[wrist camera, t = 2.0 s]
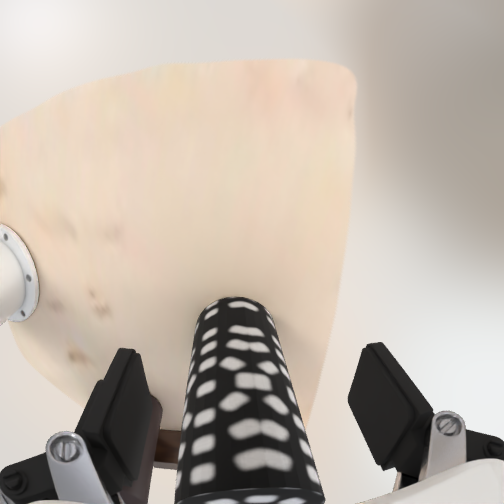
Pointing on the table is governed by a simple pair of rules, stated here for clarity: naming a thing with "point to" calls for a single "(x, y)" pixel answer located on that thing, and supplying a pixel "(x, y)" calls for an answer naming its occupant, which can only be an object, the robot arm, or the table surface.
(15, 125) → the table surface
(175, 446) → the bar
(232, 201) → the table surface
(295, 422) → the white-spotted black cylinder
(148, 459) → the bottle
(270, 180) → the table surface
